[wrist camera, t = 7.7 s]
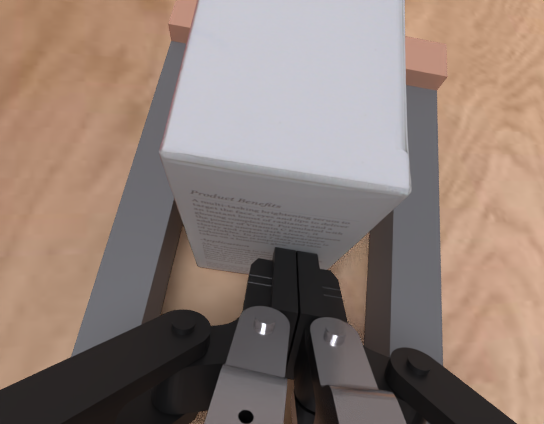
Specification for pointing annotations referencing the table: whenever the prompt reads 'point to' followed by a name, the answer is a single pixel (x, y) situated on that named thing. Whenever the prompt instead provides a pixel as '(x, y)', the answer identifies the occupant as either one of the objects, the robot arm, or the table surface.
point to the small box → (288, 127)
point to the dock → (383, 237)
